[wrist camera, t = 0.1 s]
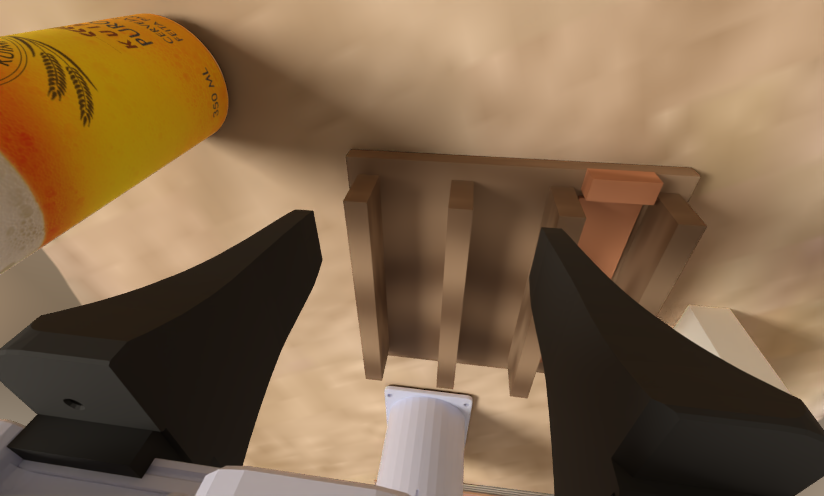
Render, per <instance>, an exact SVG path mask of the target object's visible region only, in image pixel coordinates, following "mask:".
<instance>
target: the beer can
mask: <svg viewBox="0 0 824 496" xmlns="http://www.w3.org/2000/svg"><path fill="white" fill-rule="evenodd" d="M227 112H228V92H227V87H226V83H225V80H224V77H223V74H222V72H221V69H220V67H219V65H218V63H217V62H216V60H215V59H214V57H213V56H212V54H211V53H210V52H209V51H208V49H207V48H206V47H205V46H204V45H203V44H202V42H201V41H200V40H199V39H198V38H197V37H196V36H194V35H193V34H192V33H191V32H190V31H188V30H187V29H186V28H184V27H183V26H181V25H180V24H178V23H176V22H174V21H172V20H170V19H168V18H165V17H162V16H159V15H154V14H136V15H129V16H123V17H117V18H111V19H105V20H99V21H93V22H87V23H80V24H74V25H68V26H62V27H56V28H50V29H44V30H37V31H31V32H25V33H19V34H13V35H7V36H1V37H0V275H1V274H3V273H4V272H5V271H7V270H9V269H10V268H12V267H13V266H15V265H16V264H18V263H19V262H21V261H22V260H24V259H25V258H27V257H28V256H30V255H31V254H33V253H34V252H36V251H37V250H39V249H40V248H42V247H43V246H45V245H46V244H48V243H49V242H51V241H52V240H54V239H55V238H57V237H58V236H60V235H62V234H63V233H65V232H66V231H68V230H69V229H71V228H72V227H74V226H75V225H77V224H78V223H80V222H81V221H83V220H84V219H86V218H87V217H89V216H90V215H92V214H93V213H95V212H96V211H98V210H99V209H101V208H102V207H104V206H105V205H107V204H108V203H110V202H111V201H113V200H114V199H116V198H117V197H119V196H120V195H122V194H123V193H125V192H126V191H128V190H129V189H131V188H132V187H134V186H135V185H137V184H138V183H140V182H141V181H143V180H144V179H146V178H147V177H149V176H151V175H152V174H154V173H155V172H157V171H158V170H160V169H161V168H163V167H164V166H166V165H167V164H169V163H170V162H172V161H173V160H175V159H176V158H178V157H179V156H181V155H182V154H184V153H185V152H187V151H188V150H190V149H191V148H193V147H194V146H196V145H197V144H199V143H200V142H202V141H203V140H205V139H206V138H208V137H209V136H211V135H212V134H214V133H215V132H216V131H218V130H219V128H220V127H221V126H222V125H223V123H224V121H225V119H226V116H227Z"/></svg>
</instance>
